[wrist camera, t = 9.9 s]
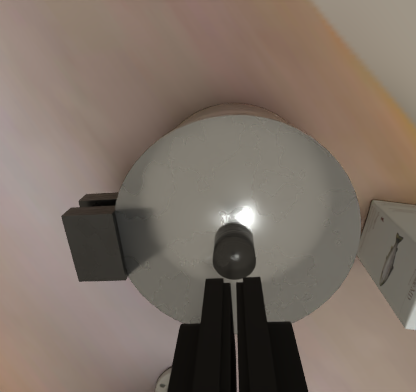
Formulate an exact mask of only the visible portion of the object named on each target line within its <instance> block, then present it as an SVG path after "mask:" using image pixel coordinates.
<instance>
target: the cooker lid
mask: <svg viewBox="0 0 416 392" xmlns="http://www.w3.org/2000/svg"><path fill="white" fill-rule="evenodd" d="M61 217H62V221H63V224H64V228H65V232H66V235H67V239H68V243H69V246H70V250H71V254H72V257H73V261H74V265H75V268H76V272H77V276H78V279H79V282H82V281H117V280H126V279H127V277H129V278H130V280H131V282H132V283H133V284H134V285H135V287H136V288H137V289H138V290H139V292H140V293H141V294H142V295H143V296H144V297H145V298H146V299H147V300H148V301H149V302H150V303H151V304H153V305H154V306H155V307H157V308H158V309H159V310H160V311H162V312H163V313H165V314H167V315H168V316H170V317H172V318H173V319H175V320H178V321H180V322H182V323H184V324H194V323H200V322H201V314H202V306H203V297H204V289H205V281H206V279H209V278H223V279H224V283H231V295H232V309H233V323H234V334H237V300H236V282H243V277H260V278H261V284H262V291H263V297H264V304H265V311H266V317H267V322H283V321H290V322H291V323H294V322H296V321H298V320H300V319H302V318H304V317H305V316H307V315H309V314H310V313H312V312H313V311H315V310H316V309H318V308H319V307H320V306H321V305H322V304H324V303H325V302H326V301H327V300H328V299H329V298H330V297H331V296H332V295H333V294H334V293H335V292H336V291H337V289H338V288H339V287H340V286H341V284H342V283H343V281H344V280H345V278H346V277H347V275H348V273H349V271H350V269H351V267H352V265H353V263H354V260H355V257H356V254H357V251H358V247H359V241H360V236H361V217H360V209H359V204H358V200H357V197H356V193H355V190H354V188H353V186H352V184H351V182H350V179H349V177H348V176H347V174H346V173H345V171H344V170H343V168H342V167H341V165H340V164H339V162H338V161H337V160H336V159H335V158H334V157H333V156H332V155H331V154H330V152H329V151H328V150H327V149H325V148H324V147H323V146H322V145H321V144H319V143H318V142H317V141H316V140H315V139H313V138H312V137H311V136H310V135H308V134H306V133H305V132H303V131H301V130H299V129H298V128H296V127H294V126H292V125H289V124H287V123H285V122H282V121H280V120H277V119H273V118H269V117H265V116H261V115H254V114H246V113H227V114H220V115H213V116H207V117H204V118H200V119H197V120H193V121H191V122H188V123H186V124H184V125H182V126H179V127H177V128H175V129H174V130H172V131H170V132H169V133H167V134H166V135H164V136H162V137H161V138H160V139H159V140H158V141H156V142H155V143H154V144H153V145H151V146H150V147H149V148H148V149H147V150H146V151H145V152H144V154H143V155H142V156H141V157H140V158H139V159H138V160H137V161H136V162H135V164H134V165H133V167H132V168H131V170H130V171H129V173H128V174H127V176H126V178H125V180H124V182H123V184H122V186H121V188H120V191H119V194H118V198H117V201H116V206H96V207H76V208H70V209H69V210H68V211H67V212H66V213H64V214H63V215H62V216H61Z"/></svg>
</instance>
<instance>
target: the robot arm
mask: <svg viewBox="0 0 416 392" xmlns="http://www.w3.org/2000/svg"><path fill="white" fill-rule="evenodd" d="M236 300H237V335H238V370H239V392H308V389H307V385H306V381H305V376H304V372H303V368H302V364H301V360H300V356H299V352H298V348H297V344H296V340H295V336H294V332H293V328H292V324H291V322H290V321H283V322H267V317H266V311H265V304H264V297H263V291H262V284H261V278H260V277H243V282H236ZM155 392H237V384H236V350H235V336H234V323H233V309H232V295H231V283H224V279H223V278H209V279H206V281H205V289H204V297H203V306H202V314H201V322H200V323H194V324H181V326H180V329H179V334H178V339H177V344H176V349H175V354H174V359H173V364H172V368H170V369H168V370H167V371H165V372H164V373H163V374H162V375H161V376H160V377H159V379H158V381H157V385H156V389H155Z"/></svg>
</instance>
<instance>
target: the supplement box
mask: <svg viewBox="0 0 416 392" xmlns="http://www.w3.org/2000/svg"><path fill="white" fill-rule="evenodd" d="M356 255H357V256H358V258H359V259H360V261H361V262H362V264H363V265H364V267H365V268H366V270H367V272H368V273H369V274H370V276H371V278H372V279H373V281H374V282H375V284H376V285H377V287H378V288H379V290H380V291H381V293H382V294H383V296H384V297H385V299H386V300H387V302H388V303H389V305H390V306H391V308H392V309H393V311H394V312H395V314H396V315H397V317H398V318H399V320H400V321H401V323H402V324H403V326H404V328H405V329H411V330H416V205H412V204H403V203H395V202H387V201H379V200H372V202H371V206H370V210H369V214H368V217H367V220H366V223H365V226H364V229H363V232H362V235H361V238H360V241H359V247H358V251H357V254H356Z"/></svg>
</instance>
